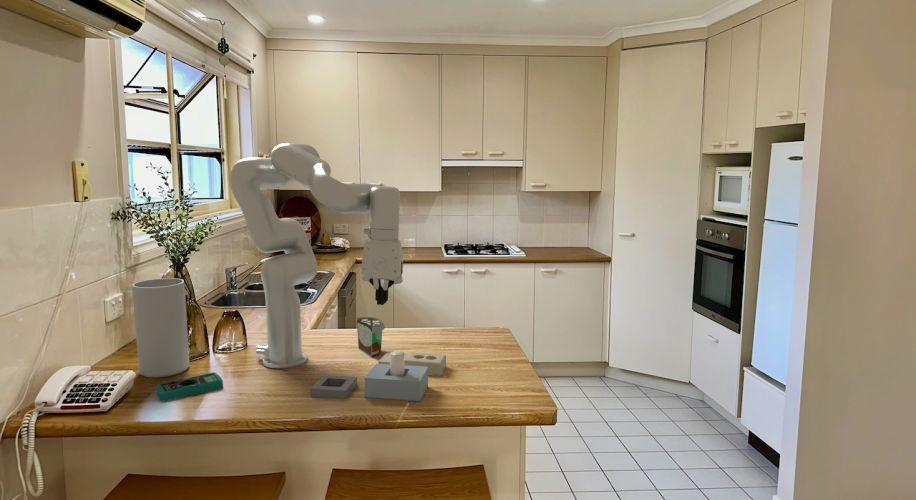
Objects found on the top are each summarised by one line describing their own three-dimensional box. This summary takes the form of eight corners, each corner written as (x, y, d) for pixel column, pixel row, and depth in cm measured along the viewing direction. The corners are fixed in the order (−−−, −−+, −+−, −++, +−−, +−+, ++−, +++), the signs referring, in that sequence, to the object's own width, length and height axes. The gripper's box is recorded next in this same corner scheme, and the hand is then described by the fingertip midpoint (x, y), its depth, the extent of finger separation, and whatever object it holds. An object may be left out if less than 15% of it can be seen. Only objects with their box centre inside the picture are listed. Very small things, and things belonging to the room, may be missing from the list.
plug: (389, 393, 139) (388, 355, 137) (392, 387, 143) (391, 350, 141) (403, 394, 139) (402, 356, 137) (406, 388, 142) (405, 351, 141)
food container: (391, 355, 169) (391, 323, 167) (373, 358, 165) (373, 326, 164) (374, 344, 179) (373, 314, 177) (356, 347, 176) (356, 317, 174)
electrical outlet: (386, 349, 162) (446, 354, 159) (386, 363, 163) (446, 367, 160) (378, 358, 155) (440, 363, 152) (378, 371, 156) (440, 377, 153)
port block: (364, 399, 137) (364, 376, 136) (376, 383, 147) (376, 362, 146) (420, 402, 135) (420, 379, 134) (428, 386, 145) (428, 365, 144)
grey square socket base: (310, 397, 137) (310, 388, 137) (324, 384, 146) (323, 375, 146) (345, 400, 136) (345, 390, 136) (356, 386, 145) (356, 377, 144)
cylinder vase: (166, 380, 147) (159, 289, 143) (128, 375, 150) (120, 285, 147) (199, 365, 159) (194, 279, 155) (163, 360, 162) (157, 277, 159)
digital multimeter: (155, 394, 140) (154, 383, 139) (217, 380, 149) (216, 370, 148) (160, 404, 134) (159, 392, 134) (224, 389, 143) (223, 378, 142)
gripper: (351, 234, 140) (349, 304, 143) (408, 239, 137) (405, 310, 141) (360, 230, 147) (358, 297, 150) (415, 235, 145) (412, 302, 148)
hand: (381, 303), depth 145 cm, fingers closed
